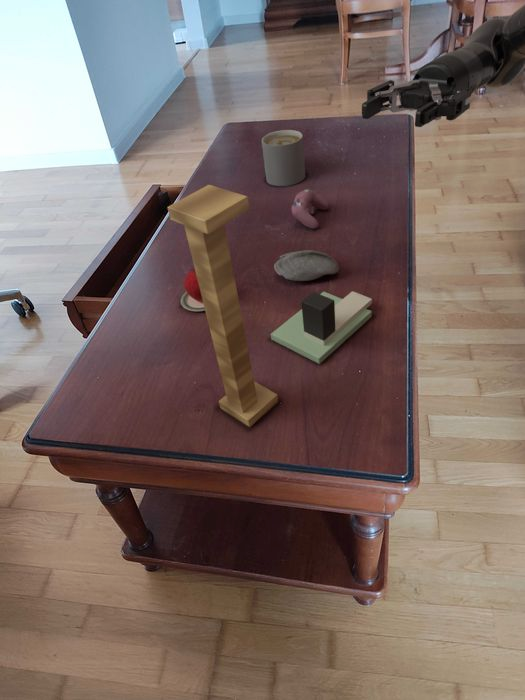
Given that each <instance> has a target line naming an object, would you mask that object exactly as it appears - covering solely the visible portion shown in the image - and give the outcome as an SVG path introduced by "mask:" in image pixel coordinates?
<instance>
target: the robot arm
mask: <svg viewBox="0 0 525 700" xmlns="http://www.w3.org/2000/svg"><path fill="white" fill-rule="evenodd" d="M524 69H525V4H523V5H521V7H519V8H518V9H517V10H516V11H514V12H513V13H512V14H511V15H510V16H509V17H507V19H505V18H502V17H493V18H490V19H487V20H486V21H485V22H483V23H482V24H480V25H479V26H478V27H476V29H474V31H473V32H472V33H471V35H469V37H468V38H467V40H466V41H465V43H464V44H463V46H462V47H460V48H458V49H456V50H452V51H449V52H447V53H444V54H443V55H441V56H439V57H437V58H435V59H433V60H431V61H429V62H428V63H426V64H424V65H423V66H422V67H420V68H419V69H418V70H417V71H416V73H415V75H414V76H413V78H412V80H408V82H405V83H401V84H395V81H394V80H391V79H390V80H387V81H385V82H383V83H381V84H378V85H376V86H375V87H372V88H369V89H368V90H367V91H366V101H364V102H363V103H362V104H361V117H362V119H366V120H369V119H371V118H372V117H374V116H376V115H377V114H379V113H381V112H384V111H390V112H391V113H399V112H405V111H410V112H413V111H415V115H414V116H415V117H414V126H415V127H417V128H422V127H423V126H425V125H428V124H429V123H431V122H433V121H440V120H442V117H445V120H447V121H450V122H451V121H454V120H456V119H458V118H459V117H460V116H461V115H462V114H464V113H465V112H466V111H467V110H469V109H470V107H471V102H472V101H471V100H472V95H473V94H474V93H476V92H477V91H479V90H480V89H482V88H483V87H486V88H489V89H499V88H503V87H504V86H506V85H508V84H509V83H511V82H513V80H514V79H516V78H517V77H518V76H519V75H520V74H521V72H522V71H523V70H524ZM398 98H399V99H398ZM397 100H399V103H400V104H398V105H397V102H398V101H397Z"/></svg>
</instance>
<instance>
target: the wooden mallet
mask: <svg viewBox="0 0 525 700" xmlns="http://www.w3.org/2000/svg"><path fill="white" fill-rule="evenodd" d="M320 294H321V293H318V292H316V291H313V292H311V293H310V294H309V295H307V296H306V297H305V298H304V299H302V300H301V309H302V314H303V326H304V336H305V337H307V338H309V339H311V340H313V341H315V342H317V343H319V344H321V345H323V346H325V345H326V344H327V343H328V342H329V341H330V340H331V339H333V338H334V337H335V336H336V335H337V334H338V333H339V332H340V331H342V330H343V329H344V328H345V327H346V326H347V325H348V324H349V323H351V322H352V321H353V320H354V319H355V318H356V317H357V316H358V315H360V314H361V313H362V312H363V311H364V310H365V309H367V308H369V307H370V306H371V305H372V304H373V298H371V297H369V296H366V295H363V294H362V293H361V294H360V293H359V292H356V291H353V290H352V291H350V292H349V293H348V294H347V295H346V296H344V298H341V299H342V300H341V301H340V302H339V303H338V304H336V305H335V303H334V300H332V299H330V298H328V297H325V296H323V295H320Z"/></svg>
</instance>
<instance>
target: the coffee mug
mask: <svg viewBox="0 0 525 700" xmlns="http://www.w3.org/2000/svg"><path fill="white" fill-rule="evenodd" d="M261 147H262V148H261V149H262V155H263V164H264V172H265V173H264V174H265V180H266V182H267V184H269V185H271V186H276V187H289V186H293V185H296V184H299V183H300V182H302V181H303V180H304V179H305V178H306V162H305V150H304V149H305V148H304V136H303V133H302V132H301V131H298V130H294V129H282V130H281V129H280V130H276V131H271V132H268V133H267V134H265V135H264V136H263V137H262V138H261Z"/></svg>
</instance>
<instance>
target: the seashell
mask: <svg viewBox="0 0 525 700" xmlns="http://www.w3.org/2000/svg"><path fill="white" fill-rule="evenodd" d="M273 268H274V271H275V273H276V274H277V275H279V276H283V278H284V279H286V280H290V281H297V282H308V281H313V280H317V279H320V278H322V277H324V276H327V275H335V274H337V273H338V272H339V270H340V266H339V264H338V262H337V260H335V259H334V258H333V257H332V256H331V255H329V254H328V253H325V252H323V251H318V250H313V249H308V250H307V249H306V250H300V251H292V252H288V253H284V254H282V255H280V256H279V258H278V260H277V261H276V262H274V265H273Z"/></svg>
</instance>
